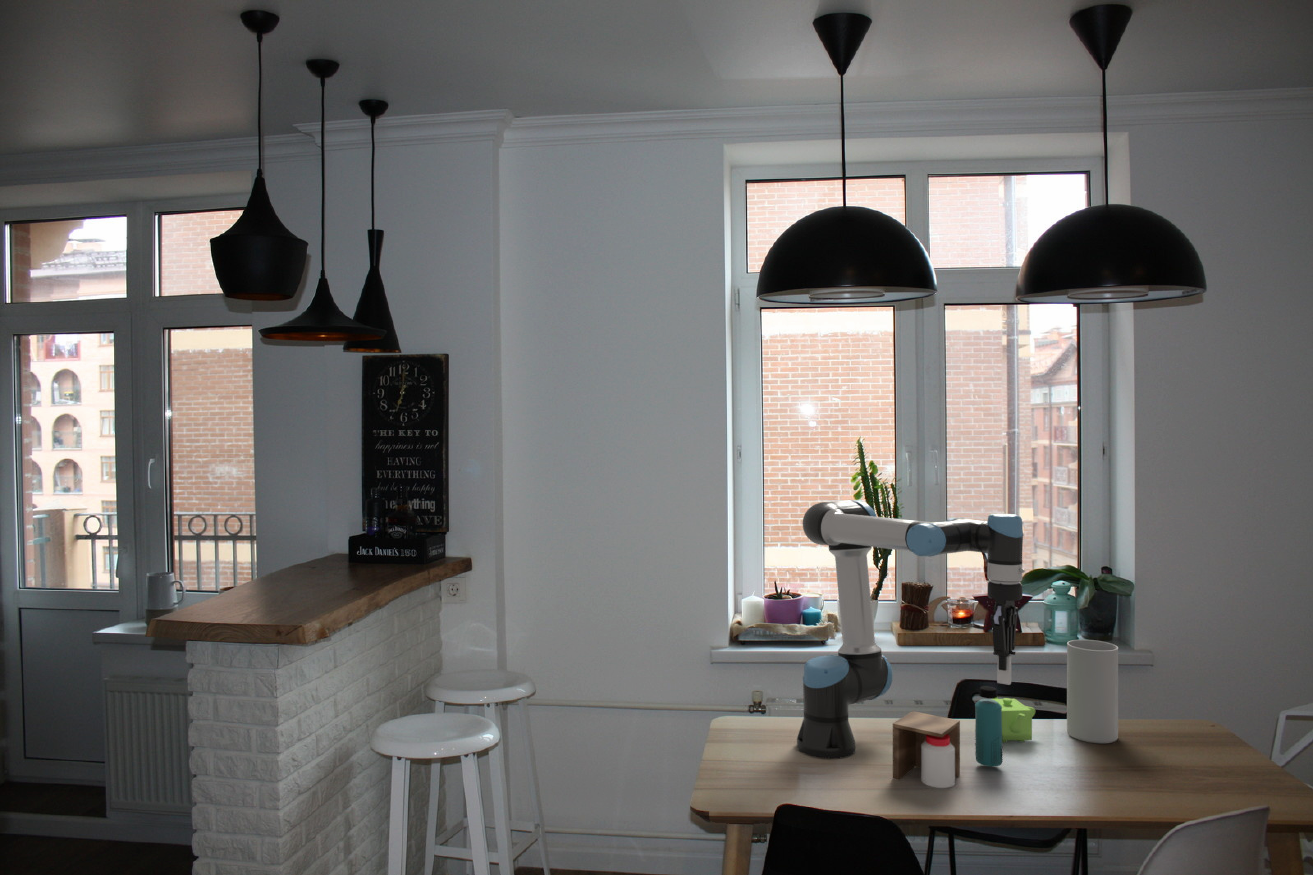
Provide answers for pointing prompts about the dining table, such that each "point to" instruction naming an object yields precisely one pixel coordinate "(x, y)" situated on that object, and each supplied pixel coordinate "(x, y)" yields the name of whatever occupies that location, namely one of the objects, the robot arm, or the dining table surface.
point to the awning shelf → (920, 740)
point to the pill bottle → (938, 762)
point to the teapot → (1016, 720)
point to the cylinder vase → (1092, 691)
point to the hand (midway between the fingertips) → (1004, 683)
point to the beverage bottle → (988, 728)
